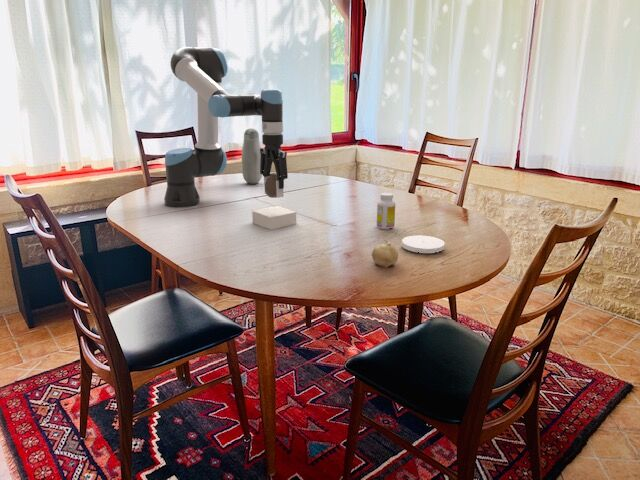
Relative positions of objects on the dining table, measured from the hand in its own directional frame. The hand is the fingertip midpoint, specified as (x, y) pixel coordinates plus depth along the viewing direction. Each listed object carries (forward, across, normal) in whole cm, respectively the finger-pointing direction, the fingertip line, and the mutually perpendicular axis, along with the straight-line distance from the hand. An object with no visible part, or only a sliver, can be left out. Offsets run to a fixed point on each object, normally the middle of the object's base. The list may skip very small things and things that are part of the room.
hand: (274, 195), depth 191 cm
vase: (+1, 0, 0) cm, 1 cm away
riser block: (+11, 0, 0) cm, 11 cm away
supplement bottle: (+11, +31, +29) cm, 44 cm away
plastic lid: (+12, +55, +21) cm, 60 cm away
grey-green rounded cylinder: (+11, -66, +34) cm, 75 cm away
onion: (+12, +57, 0) cm, 58 cm away
